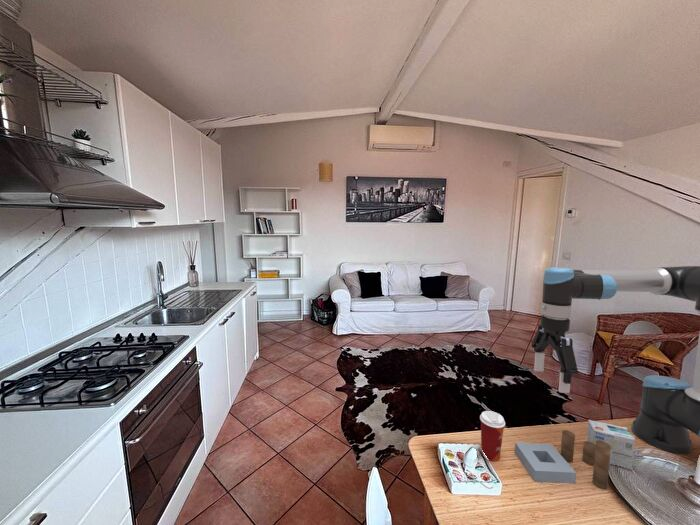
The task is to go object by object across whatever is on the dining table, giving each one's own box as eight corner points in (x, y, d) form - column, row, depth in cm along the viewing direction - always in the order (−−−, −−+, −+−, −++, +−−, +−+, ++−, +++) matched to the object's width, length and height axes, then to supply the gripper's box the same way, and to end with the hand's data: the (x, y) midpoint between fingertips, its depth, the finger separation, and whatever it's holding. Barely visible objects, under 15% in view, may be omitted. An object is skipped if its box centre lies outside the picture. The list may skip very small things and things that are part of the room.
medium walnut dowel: (568, 455, 99) (570, 430, 98) (575, 462, 96) (577, 437, 95) (558, 454, 99) (560, 429, 99) (564, 462, 96) (566, 436, 95)
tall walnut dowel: (601, 480, 89) (604, 440, 88) (610, 489, 86) (614, 448, 84) (589, 479, 89) (593, 440, 88) (598, 489, 86) (602, 448, 85)
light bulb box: (624, 456, 99) (627, 426, 98) (633, 471, 93) (636, 439, 92) (585, 446, 103) (587, 418, 102) (591, 460, 97) (594, 430, 96)
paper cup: (506, 465, 95) (508, 425, 93) (481, 462, 96) (483, 422, 95) (499, 448, 102) (501, 410, 101) (475, 445, 104) (477, 408, 102)
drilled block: (550, 453, 100) (551, 444, 100) (575, 483, 88) (576, 472, 88) (514, 451, 101) (515, 442, 100) (534, 481, 89) (535, 470, 88)
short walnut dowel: (590, 458, 98) (592, 441, 97) (598, 466, 95) (600, 449, 94) (580, 457, 98) (581, 441, 98) (587, 465, 95) (589, 448, 94)
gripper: (522, 306, 104) (519, 363, 107) (568, 329, 80) (562, 402, 82) (544, 307, 104) (540, 364, 106) (597, 330, 79) (591, 403, 81)
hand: (550, 380), depth 94 cm, fingers open, 13 cm apart
